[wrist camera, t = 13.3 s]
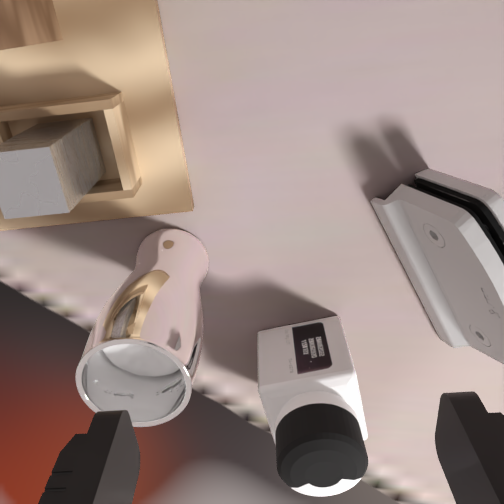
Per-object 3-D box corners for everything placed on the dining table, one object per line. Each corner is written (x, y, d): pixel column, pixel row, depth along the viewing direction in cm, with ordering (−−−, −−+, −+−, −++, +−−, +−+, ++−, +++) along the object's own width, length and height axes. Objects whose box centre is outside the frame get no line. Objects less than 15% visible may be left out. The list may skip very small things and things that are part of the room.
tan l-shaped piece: (-92, -11, 31) (-325, -23, 18) (149, -42, 30) (76, -78, 17) (0, 226, 38) (-120, 330, 26) (194, 206, 38) (165, 303, 25)
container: (256, 329, 43) (257, 446, 32) (339, 313, 42) (372, 427, 31) (274, 391, 47) (281, 516, 35) (352, 377, 46) (385, 500, 34)
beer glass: (231, 256, 40) (220, 381, 26) (181, 308, 42) (148, 446, 29) (164, 206, 38) (116, 314, 24) (115, 263, 40) (48, 390, 27)
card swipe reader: (367, 197, 37) (454, 225, 28) (414, 163, 38) (514, 180, 29) (441, 342, 44) (531, 403, 35) (480, 312, 44) (579, 365, 35)
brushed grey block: (37, 123, 34) (-20, 154, 27) (92, 117, 33) (49, 146, 26) (54, 177, 36) (4, 219, 28) (106, 171, 35) (69, 212, 28)
